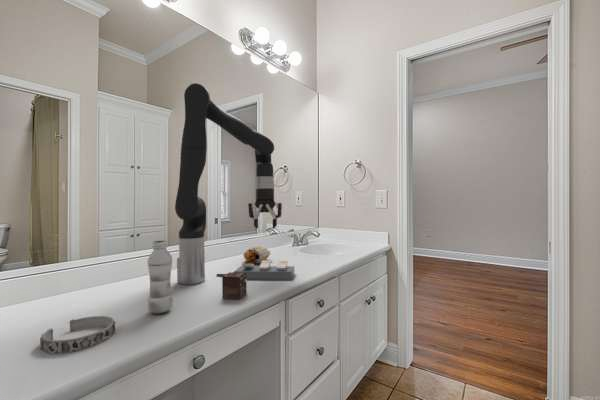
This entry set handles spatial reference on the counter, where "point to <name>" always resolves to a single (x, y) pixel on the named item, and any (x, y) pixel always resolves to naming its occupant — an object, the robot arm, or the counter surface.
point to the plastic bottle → (160, 278)
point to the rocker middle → (265, 265)
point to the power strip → (266, 273)
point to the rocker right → (281, 265)
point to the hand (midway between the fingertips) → (265, 227)
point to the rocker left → (248, 265)
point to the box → (234, 285)
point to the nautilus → (256, 255)
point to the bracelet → (82, 342)
